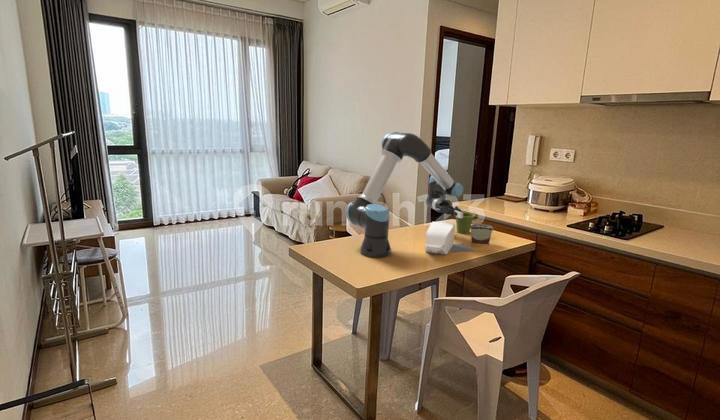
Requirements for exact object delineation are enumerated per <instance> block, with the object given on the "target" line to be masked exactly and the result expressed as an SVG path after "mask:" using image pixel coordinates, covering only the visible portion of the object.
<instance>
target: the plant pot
mask: <svg viewBox="0 0 720 420" xmlns="http://www.w3.org/2000/svg"><path fill="white" fill-rule="evenodd" d="M461 212H462V213H463V218H458V217H456V216H454V217H455V221H456V224H455V226H456V232H457V233H459V234H463V235H467V234H469V233H470V232H471V229H470V227H471V225H473V224H472V223H473V221H474V217H475V216H476V214H474V213H472V212H466V211H465V212H464V211H461Z"/></svg>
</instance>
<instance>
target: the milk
mask: <svg viewBox="0 0 720 420" xmlns="http://www.w3.org/2000/svg"><path fill="white" fill-rule="evenodd" d="M455 227H456V224H455V223H451V222H450V223H449V222H443V221H442V222H441V221H431V224H430V225H429V227H428V229H427V230H426V234H425V252H426V253H431V254H437V255H443V256H444V255H448V253H449V252H448V251H449V250H450V249H451V247H452V246H453V244H455V243H454V242H455Z"/></svg>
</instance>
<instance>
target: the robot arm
mask: <svg viewBox="0 0 720 420" xmlns="http://www.w3.org/2000/svg"><path fill="white" fill-rule="evenodd" d="M382 138H383V139H382V140H381V151H380V152H381V155H382V156H381V157H380V159H379V161H378V163H377V164H376V167H375V169H374V170H373V173H372V174H371V176H370V178H369V180H368V182H367V184H366V186H365V188H364V190H363V191H362V193H361V195H358V196H357V197H356V199H355V200H354V201H352V202H349V203H348V204H347V206H346V209H345V215H346V219H347V221H348V222H350V223H351V224H352V225H354V226H357V227H360V228H363V229H364V237H363V240H362V243H361V245H360V254H361V255H363V256H365V257H369V258H385V257H389V256H390V255H391V254H392V248H391V244H390V240H389V227H390V210H389V208H388V207H386V206H384V205H382V204H377V202H378V200H379V198H380V196H381V195H382V192H383V190H384V188H385V186H386V184H387V182H388V181H389V179H390V177H391V175H392V173H393V171H394V169H395V167H396V165H397V164H398V163H400V162H402V160H403V159H404V157H409V158H411V159H413V160H414V161H415V162H416V163H420V165H421V166H422V167H423V168H424V169H425V171H426V172H427V173H428V174H429V175H430V177H429V182H428V195H427V196H426V197H425V199H424V202H425V203H424V204H425V205H426V206H427V207H429V208H430V209H432V210H435V211H436V212H437V213H439V214H443V215H444V214H445V215H448V216H451V217H455V216H456V217H458V218H463V213H462V212H463V211H462V210H461V208H459V206H457V205H455V206H453V205H451V204H450V202H449V201H447V200H445V199H443V198H442V195H446V196H449V197H450V196H451V197H454V198H455V197H456V198H459V197H461V196H462V194H463V192H464V186H463V185H462V184H461V183H459V182H456V181H455V180H454V179H453V177H451V175H450V174H449V173H448V172H447V171H446V169H445V168H444V167H443V165H441V163H440V162H439V161H438V159H437V158H436V157H435V156H434V155H433V153H432V149H431V148H430V147H429V146H428V144H427V143H426V142H425V141H424V140H423V139H422V138H421V137H419V136H418V135H417V134H414V133H409V132H397V131H393V132H389V133H387V134H386V135H385V136H384V137H382ZM456 217H455V218H456Z"/></svg>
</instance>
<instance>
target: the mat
mask: <svg viewBox="0 0 720 420" xmlns="http://www.w3.org/2000/svg"><path fill="white" fill-rule="evenodd" d="M460 252H475V249H473V248H472V247H470V246H468V245H467V244H465V242H463V243H461V242H460V243H454V244H453V246H452V247H451V249H450V250H449V251H448V253H460Z"/></svg>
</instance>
